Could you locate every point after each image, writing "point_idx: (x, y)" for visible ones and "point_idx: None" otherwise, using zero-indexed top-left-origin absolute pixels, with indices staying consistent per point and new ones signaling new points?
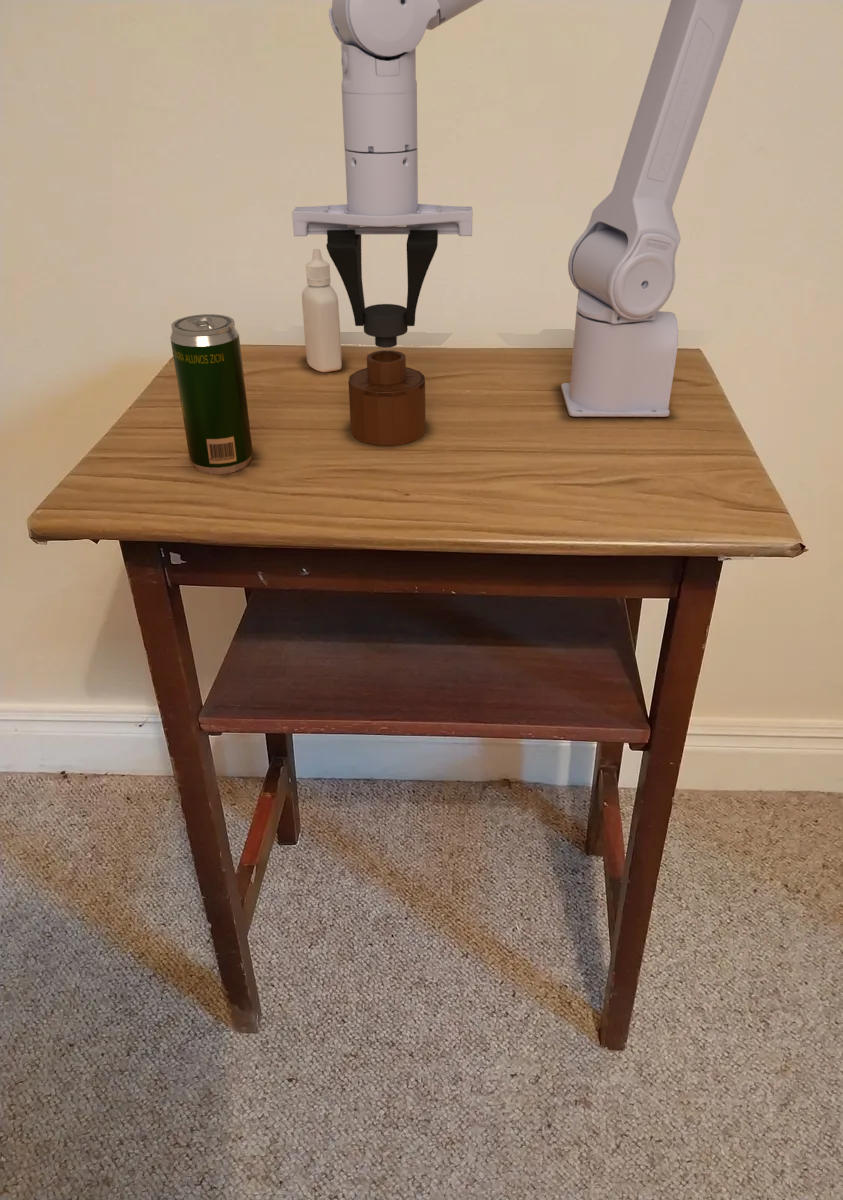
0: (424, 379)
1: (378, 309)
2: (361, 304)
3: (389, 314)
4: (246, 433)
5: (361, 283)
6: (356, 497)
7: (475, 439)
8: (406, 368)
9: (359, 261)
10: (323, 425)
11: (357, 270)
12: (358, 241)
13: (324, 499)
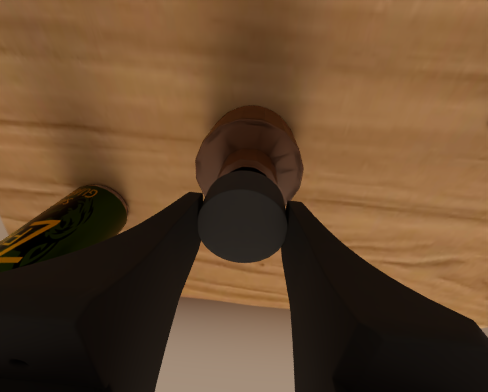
0: (300, 182)
1: (227, 226)
2: (192, 258)
3: (250, 254)
4: (114, 232)
5: (176, 239)
6: (225, 264)
7: (343, 177)
8: (279, 135)
9: (155, 311)
10: (176, 127)
11: (165, 345)
12: (126, 385)
13: (202, 265)
